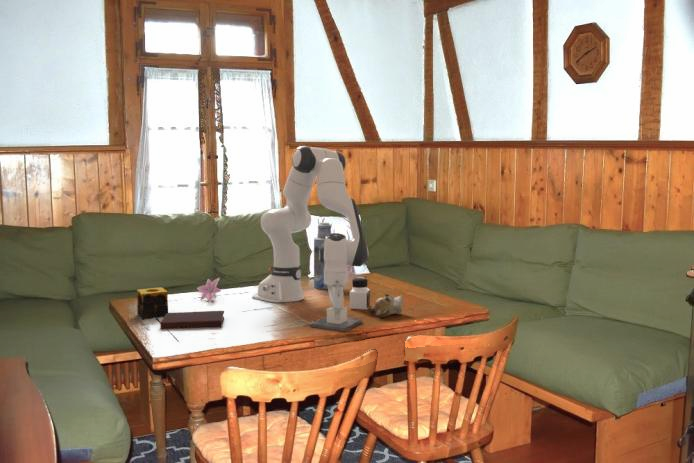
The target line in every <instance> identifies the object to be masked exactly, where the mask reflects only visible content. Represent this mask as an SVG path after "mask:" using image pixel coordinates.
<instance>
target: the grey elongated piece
mask: <svg viewBox="0 0 694 463" xmlns="http://www.w3.org/2000/svg"><path fill="white" fill-rule="evenodd" d="M328 234H332V224H330V223H329V221H327V222H324V221H323V222H320V223H319V224H318V225H317V236H316V237H314V238H313V287H314V288H315V289H318V290H319V289H321V290H328V288H327V285H326V284H324V267H325V265H324V264H323V263H321V262H320V261H319V255H320V254H319V246H320V244H321V243H322V242H324V241H325V237H326V236H327V235H328Z"/></svg>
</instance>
